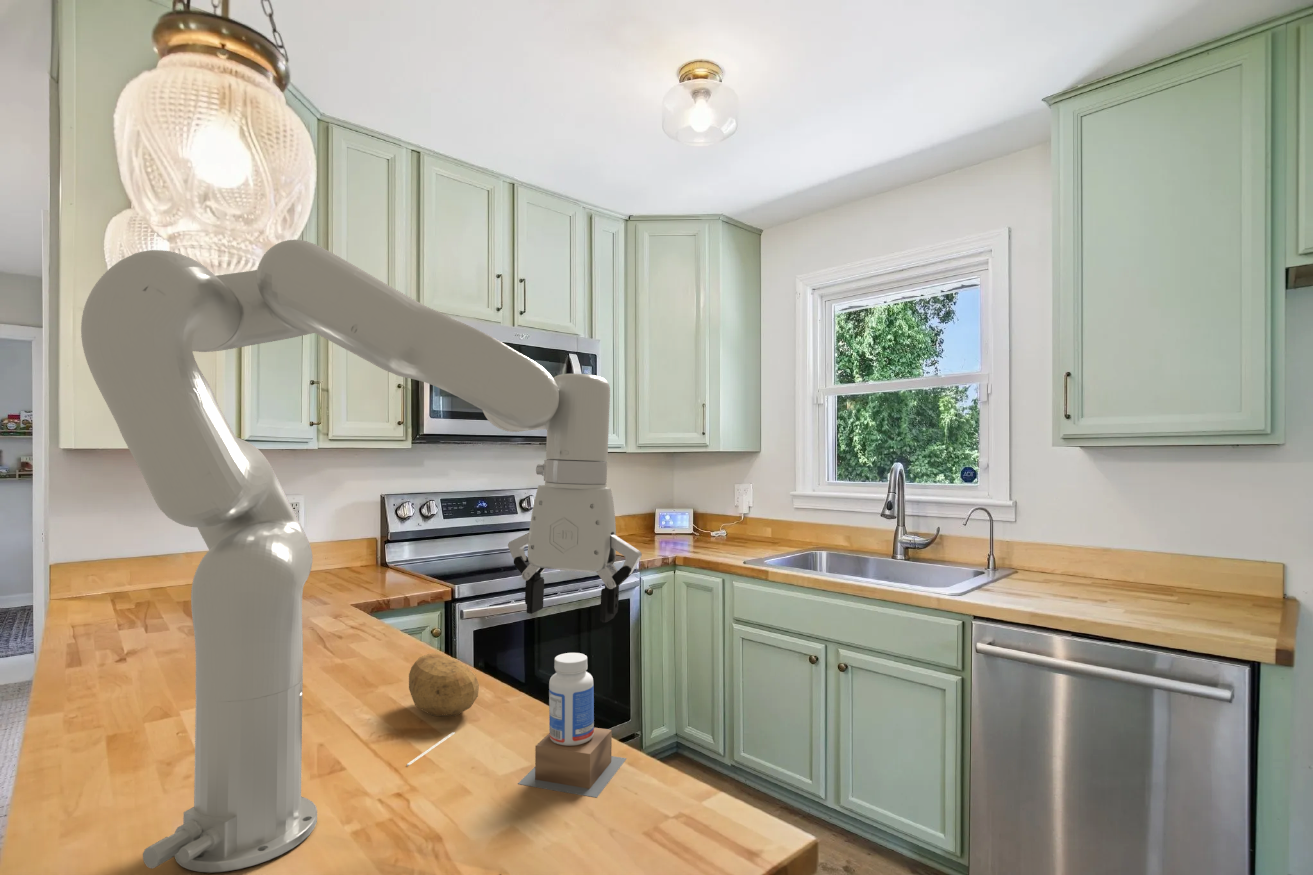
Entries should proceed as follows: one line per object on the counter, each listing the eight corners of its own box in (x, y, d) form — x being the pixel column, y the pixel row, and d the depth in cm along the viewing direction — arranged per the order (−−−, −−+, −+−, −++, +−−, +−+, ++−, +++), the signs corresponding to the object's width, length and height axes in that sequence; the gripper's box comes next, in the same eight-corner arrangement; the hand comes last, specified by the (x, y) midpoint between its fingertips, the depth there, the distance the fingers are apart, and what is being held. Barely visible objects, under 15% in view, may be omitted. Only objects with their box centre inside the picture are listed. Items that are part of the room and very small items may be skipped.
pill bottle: (595, 727, 85) (595, 650, 85) (592, 747, 80) (593, 664, 80) (551, 728, 85) (552, 650, 85) (545, 747, 80) (546, 664, 80)
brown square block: (589, 788, 78) (590, 753, 78) (535, 779, 80) (535, 745, 80) (611, 761, 85) (611, 729, 85) (560, 753, 87) (560, 722, 87)
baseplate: (596, 806, 76) (596, 797, 76) (517, 792, 79) (517, 783, 79) (626, 766, 86) (626, 758, 86) (554, 754, 89) (554, 747, 89)
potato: (432, 737, 94) (433, 679, 94) (394, 707, 104) (394, 655, 104) (496, 718, 100) (496, 664, 100) (453, 692, 111) (454, 643, 111)
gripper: (497, 472, 82) (491, 614, 81) (632, 479, 77) (627, 630, 76) (527, 471, 89) (521, 602, 89) (652, 478, 84) (647, 616, 84)
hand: (570, 615), depth 82 cm, fingers open, 9 cm apart
